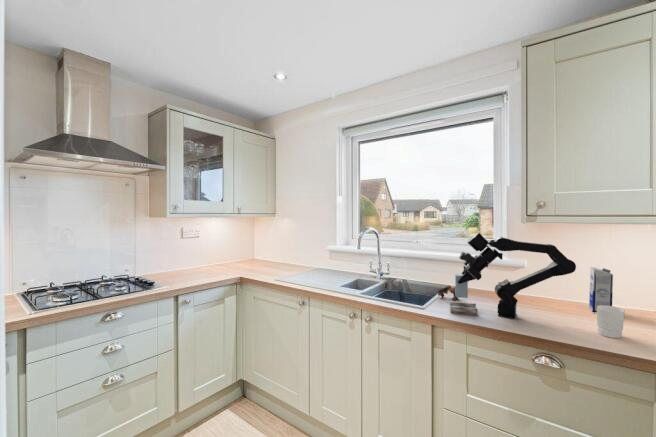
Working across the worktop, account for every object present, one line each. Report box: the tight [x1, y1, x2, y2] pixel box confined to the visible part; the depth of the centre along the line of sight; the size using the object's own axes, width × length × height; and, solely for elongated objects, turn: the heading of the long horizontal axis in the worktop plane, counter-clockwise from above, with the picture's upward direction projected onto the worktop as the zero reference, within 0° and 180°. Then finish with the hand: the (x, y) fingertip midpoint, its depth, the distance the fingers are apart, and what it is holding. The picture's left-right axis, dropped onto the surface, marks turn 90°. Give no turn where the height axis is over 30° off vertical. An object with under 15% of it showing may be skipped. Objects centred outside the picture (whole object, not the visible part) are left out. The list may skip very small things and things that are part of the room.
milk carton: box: [588, 266, 614, 313], centre depth 148 cm, size 7×7×20 cm
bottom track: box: [449, 300, 478, 316], centre depth 149 cm, size 11×8×3 cm
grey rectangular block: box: [454, 273, 469, 299], centre depth 148 cm, size 5×4×10 cm
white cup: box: [596, 305, 626, 339], centre depth 122 cm, size 8×8×10 cm
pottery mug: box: [437, 285, 459, 302], centre depth 169 cm, size 12×10×8 cm
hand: (458, 282), depth 149 cm, fingers closed on grey rectangular block, 3 cm apart
